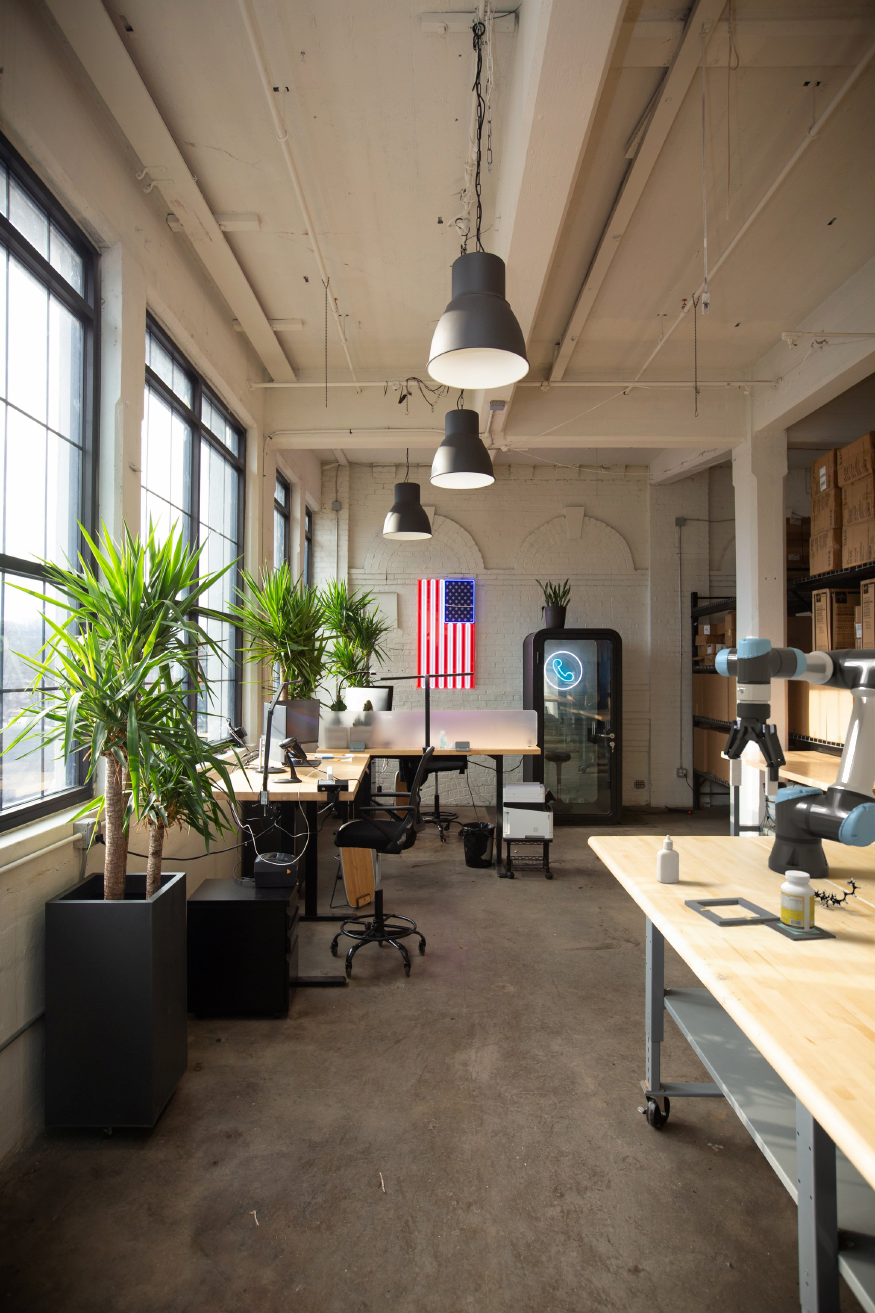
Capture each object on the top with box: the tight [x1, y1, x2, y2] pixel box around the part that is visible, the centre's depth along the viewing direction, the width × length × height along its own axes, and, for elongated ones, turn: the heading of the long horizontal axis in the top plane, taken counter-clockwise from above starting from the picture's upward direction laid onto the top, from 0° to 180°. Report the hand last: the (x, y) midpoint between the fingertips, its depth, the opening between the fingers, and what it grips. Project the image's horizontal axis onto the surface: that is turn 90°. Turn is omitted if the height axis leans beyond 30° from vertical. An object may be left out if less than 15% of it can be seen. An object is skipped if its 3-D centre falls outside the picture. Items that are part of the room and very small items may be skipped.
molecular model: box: [814, 877, 862, 910], centre depth 167 cm, size 6×15×8 cm, turn 34°
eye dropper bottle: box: [656, 834, 680, 884], centre depth 185 cm, size 4×6×12 cm
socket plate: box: [684, 896, 781, 927], centre depth 161 cm, size 15×14×1 cm
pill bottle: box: [780, 871, 816, 932], centre depth 152 cm, size 6×6×12 cm
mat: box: [761, 920, 837, 942], centre depth 151 cm, size 10×10×1 cm
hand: (752, 790), depth 170 cm, fingers open, 13 cm apart
